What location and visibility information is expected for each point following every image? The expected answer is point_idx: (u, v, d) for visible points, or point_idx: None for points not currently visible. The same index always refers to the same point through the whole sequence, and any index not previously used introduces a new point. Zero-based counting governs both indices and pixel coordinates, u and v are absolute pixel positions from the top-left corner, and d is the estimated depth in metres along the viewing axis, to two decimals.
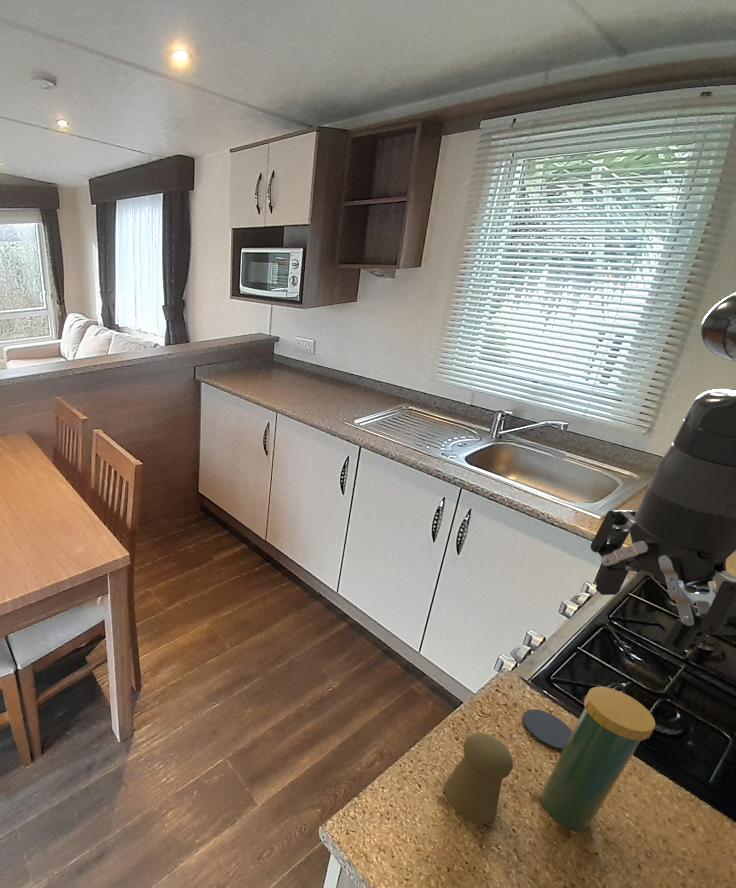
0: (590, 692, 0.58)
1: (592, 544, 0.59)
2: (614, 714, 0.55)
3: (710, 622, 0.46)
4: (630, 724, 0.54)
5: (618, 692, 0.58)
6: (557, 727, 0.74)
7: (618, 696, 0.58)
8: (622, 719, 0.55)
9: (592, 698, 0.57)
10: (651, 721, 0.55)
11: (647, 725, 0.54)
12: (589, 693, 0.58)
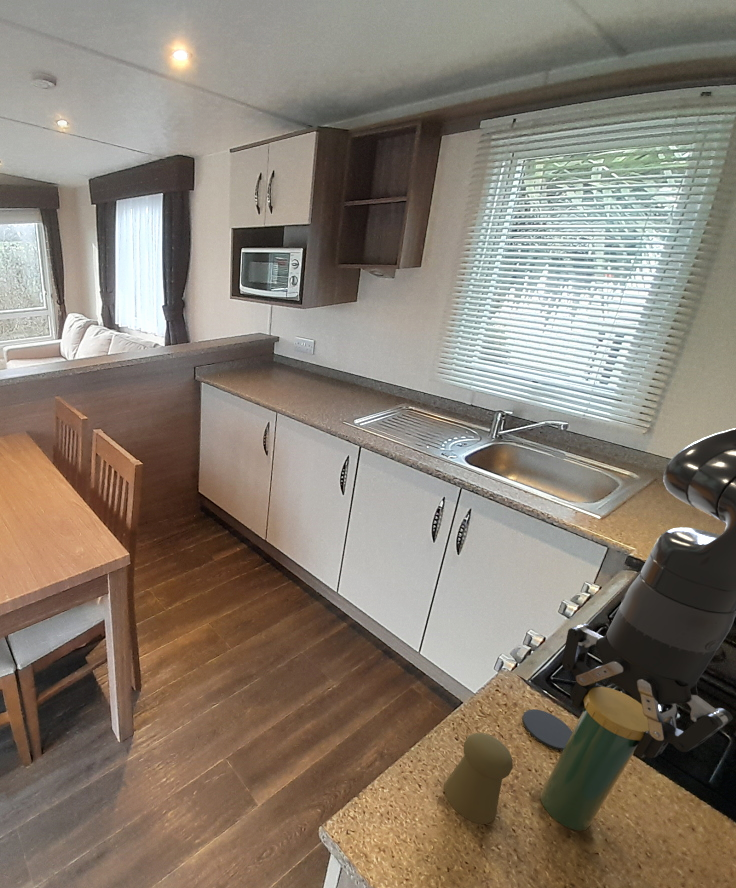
0: (590, 692, 0.58)
1: (563, 662, 0.60)
2: (614, 714, 0.55)
3: (681, 741, 0.50)
4: (630, 724, 0.54)
5: (618, 692, 0.58)
6: (557, 727, 0.74)
7: (618, 696, 0.57)
8: (622, 719, 0.55)
9: (592, 698, 0.57)
10: None
11: (647, 725, 0.54)
12: (589, 693, 0.58)
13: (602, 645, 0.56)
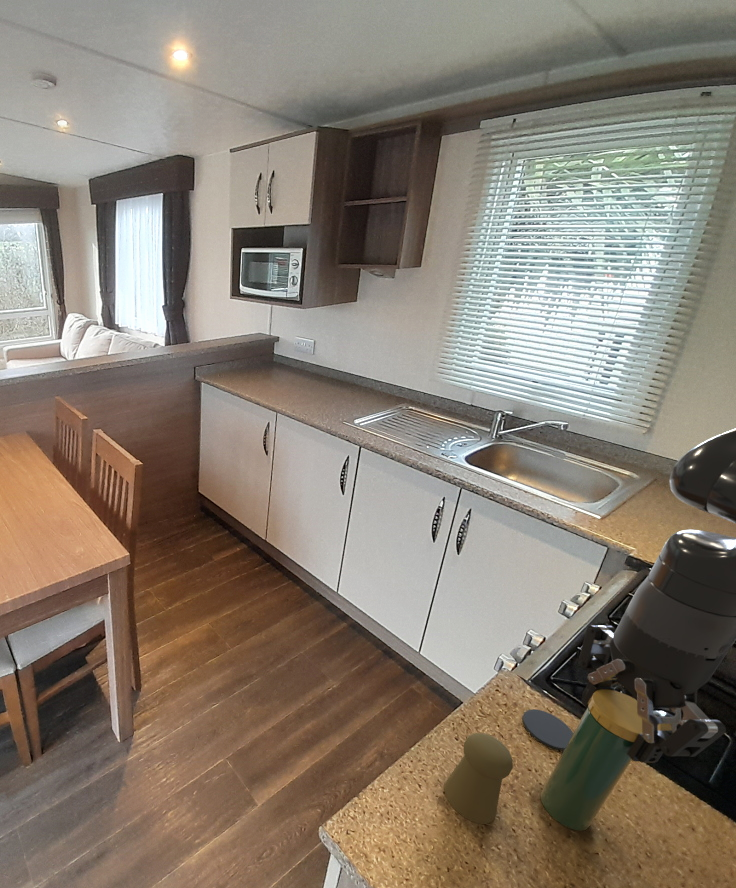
0: None
1: None
2: None
3: None
4: (625, 698, 0.57)
5: (617, 722, 0.54)
6: (557, 727, 0.74)
7: (620, 719, 0.55)
8: (631, 703, 0.56)
9: None
10: (598, 693, 0.58)
11: (606, 692, 0.58)
12: None
13: None
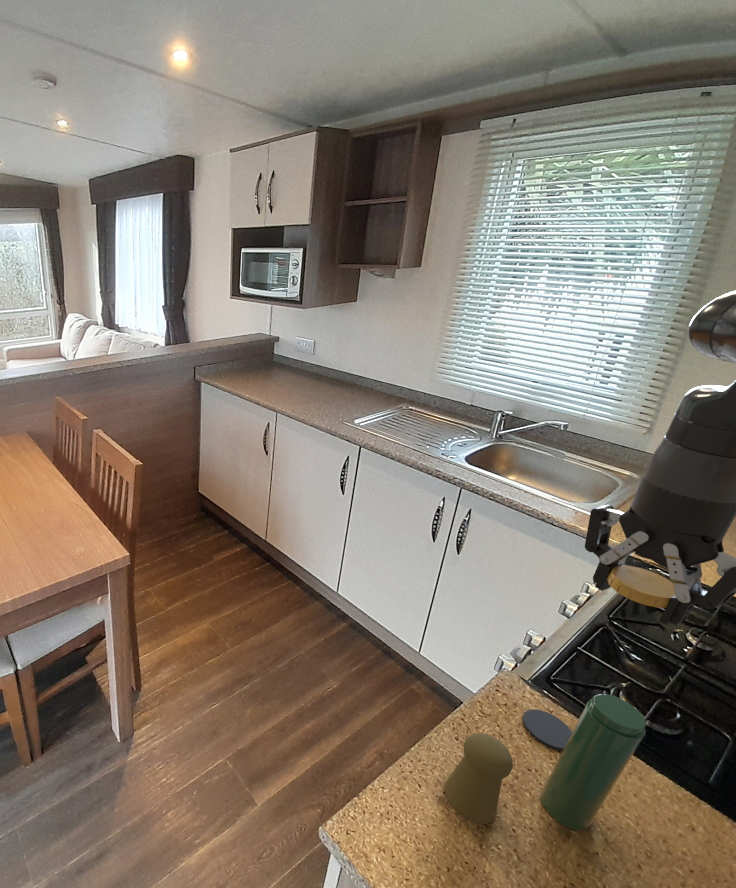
0: None
1: None
2: (650, 575, 0.58)
3: None
4: (634, 569, 0.59)
5: (649, 593, 0.55)
6: (557, 727, 0.74)
7: (648, 589, 0.56)
8: (642, 572, 0.58)
9: None
10: (615, 572, 0.58)
11: (619, 569, 0.59)
12: None
13: None
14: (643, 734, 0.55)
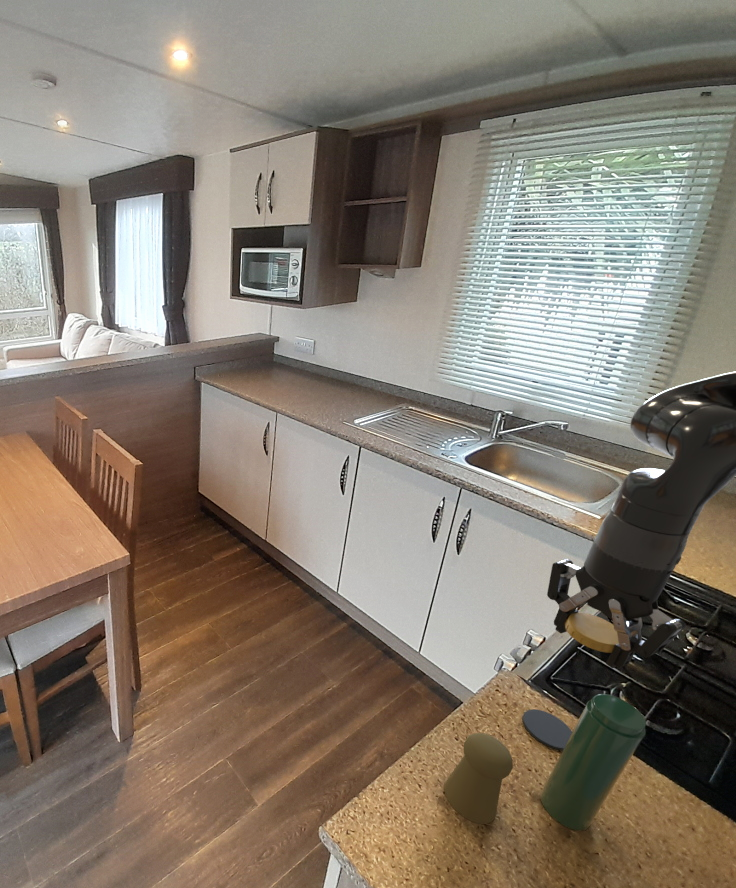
0: None
1: None
2: (601, 623, 0.67)
3: None
4: (588, 617, 0.68)
5: (597, 639, 0.64)
6: (557, 727, 0.74)
7: (597, 636, 0.64)
8: (595, 620, 0.67)
9: None
10: (571, 619, 0.67)
11: (575, 616, 0.68)
12: None
13: None
14: (643, 734, 0.55)
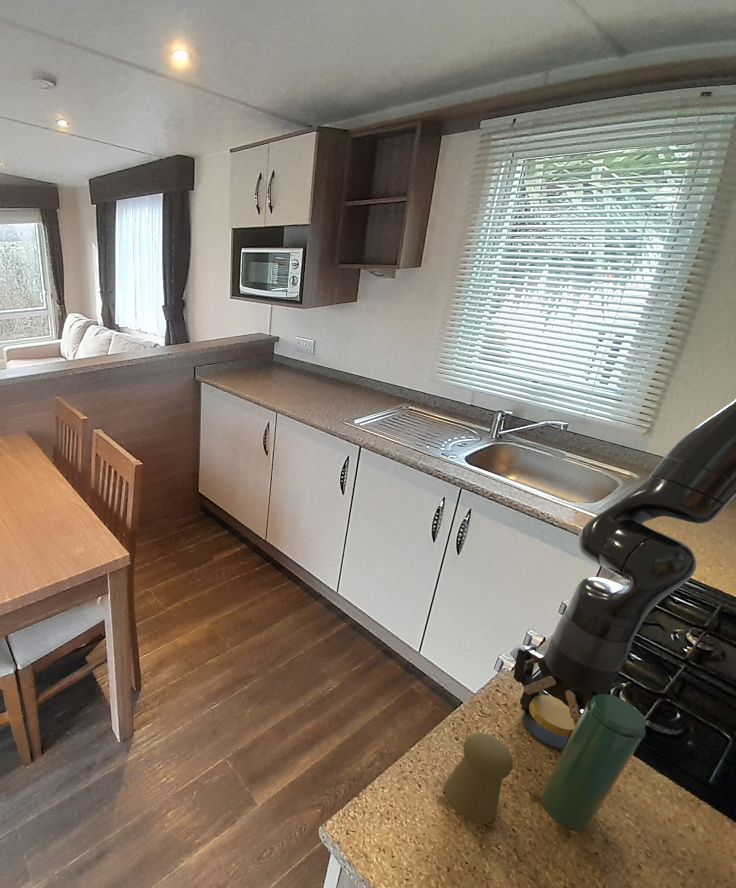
0: None
1: None
2: (561, 706, 0.73)
3: None
4: (550, 699, 0.74)
5: (556, 724, 0.71)
6: None
7: (556, 721, 0.71)
8: (555, 703, 0.74)
9: None
10: (534, 701, 0.74)
11: (538, 698, 0.74)
12: None
13: None
14: (643, 734, 0.55)
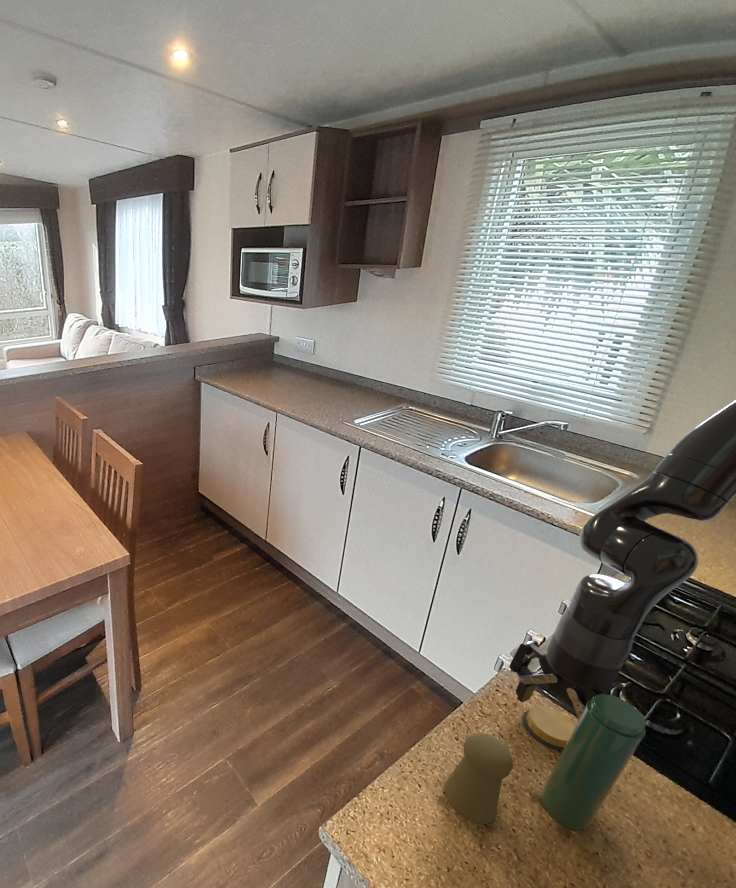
0: None
1: None
2: (558, 717, 0.74)
3: None
4: (547, 710, 0.75)
5: (553, 735, 0.71)
6: None
7: (553, 732, 0.72)
8: (552, 713, 0.74)
9: None
10: (532, 712, 0.75)
11: (535, 709, 0.75)
12: None
13: None
14: (643, 734, 0.55)
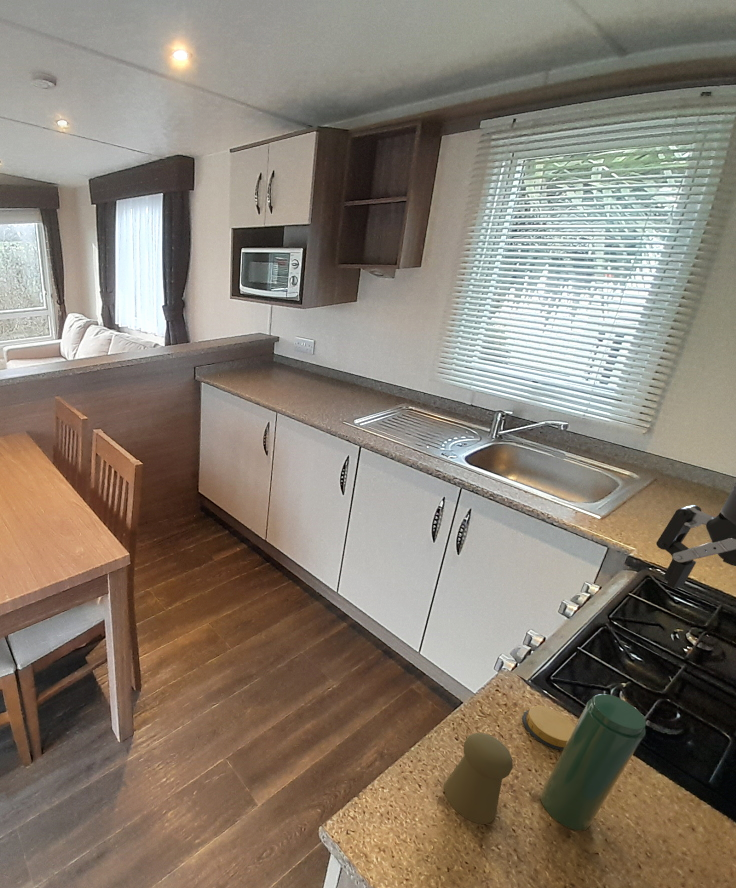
0: None
1: None
2: (558, 717, 0.74)
3: None
4: (547, 710, 0.75)
5: (553, 735, 0.71)
6: None
7: (553, 732, 0.72)
8: (552, 713, 0.74)
9: None
10: (532, 712, 0.75)
11: (535, 709, 0.75)
12: None
13: None
14: (643, 734, 0.55)
